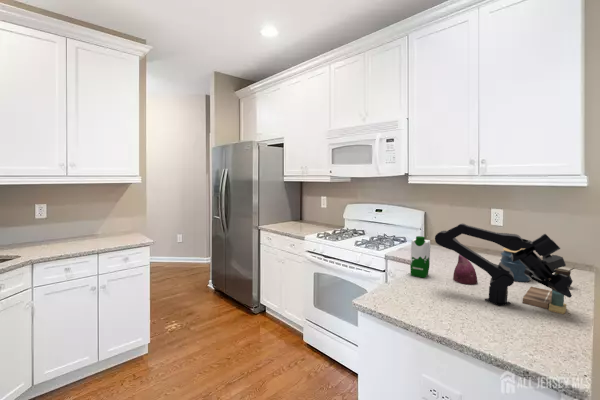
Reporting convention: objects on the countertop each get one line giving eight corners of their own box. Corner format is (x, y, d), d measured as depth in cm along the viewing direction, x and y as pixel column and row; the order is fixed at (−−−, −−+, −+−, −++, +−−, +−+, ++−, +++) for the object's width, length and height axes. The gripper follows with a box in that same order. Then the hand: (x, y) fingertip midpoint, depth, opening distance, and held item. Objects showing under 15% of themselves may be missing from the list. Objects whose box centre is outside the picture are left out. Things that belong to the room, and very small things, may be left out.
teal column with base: (564, 314, 115) (566, 285, 114) (548, 310, 118) (550, 282, 117) (566, 309, 120) (568, 280, 119) (550, 305, 123) (552, 278, 122)
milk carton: (408, 275, 158) (410, 236, 156) (412, 271, 165) (414, 234, 164) (426, 279, 153) (428, 238, 152) (430, 274, 160) (432, 236, 159)
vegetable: (451, 287, 151) (443, 257, 151) (458, 280, 158) (450, 251, 158) (475, 288, 143) (466, 256, 144) (481, 280, 151) (473, 249, 151)
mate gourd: (550, 282, 151) (552, 262, 150) (571, 286, 147) (573, 265, 146) (551, 286, 145) (553, 265, 145) (573, 290, 141) (575, 269, 140)
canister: (534, 279, 156) (537, 244, 155) (523, 284, 149) (526, 247, 147) (506, 272, 167) (508, 240, 165) (494, 276, 159) (496, 242, 158)
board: (547, 309, 119) (548, 303, 119) (522, 302, 125) (522, 297, 125) (553, 295, 134) (553, 290, 134) (530, 290, 139) (530, 286, 139)
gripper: (568, 254, 109) (600, 287, 108) (534, 243, 127) (561, 271, 127) (542, 275, 110) (574, 307, 109) (512, 261, 128) (539, 289, 128)
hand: (562, 292), depth 118 cm, fingers open, 8 cm apart
